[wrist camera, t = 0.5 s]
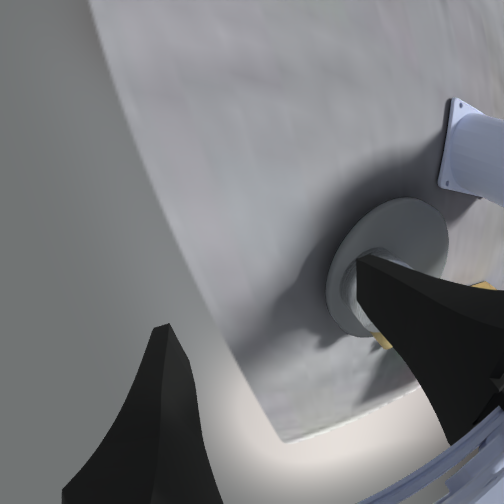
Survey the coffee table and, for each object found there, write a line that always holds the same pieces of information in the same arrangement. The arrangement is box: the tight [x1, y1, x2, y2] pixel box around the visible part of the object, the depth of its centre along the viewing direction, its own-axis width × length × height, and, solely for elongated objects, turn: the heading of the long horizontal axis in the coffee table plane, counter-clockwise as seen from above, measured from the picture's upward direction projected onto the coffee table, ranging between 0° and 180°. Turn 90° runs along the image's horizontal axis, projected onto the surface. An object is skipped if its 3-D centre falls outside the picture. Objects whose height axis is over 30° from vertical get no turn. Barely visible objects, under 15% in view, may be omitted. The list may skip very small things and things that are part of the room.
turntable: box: [325, 197, 449, 349], centre depth 21 cm, size 12×12×3 cm
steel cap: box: [340, 247, 414, 332], centre depth 19 cm, size 5×5×3 cm
